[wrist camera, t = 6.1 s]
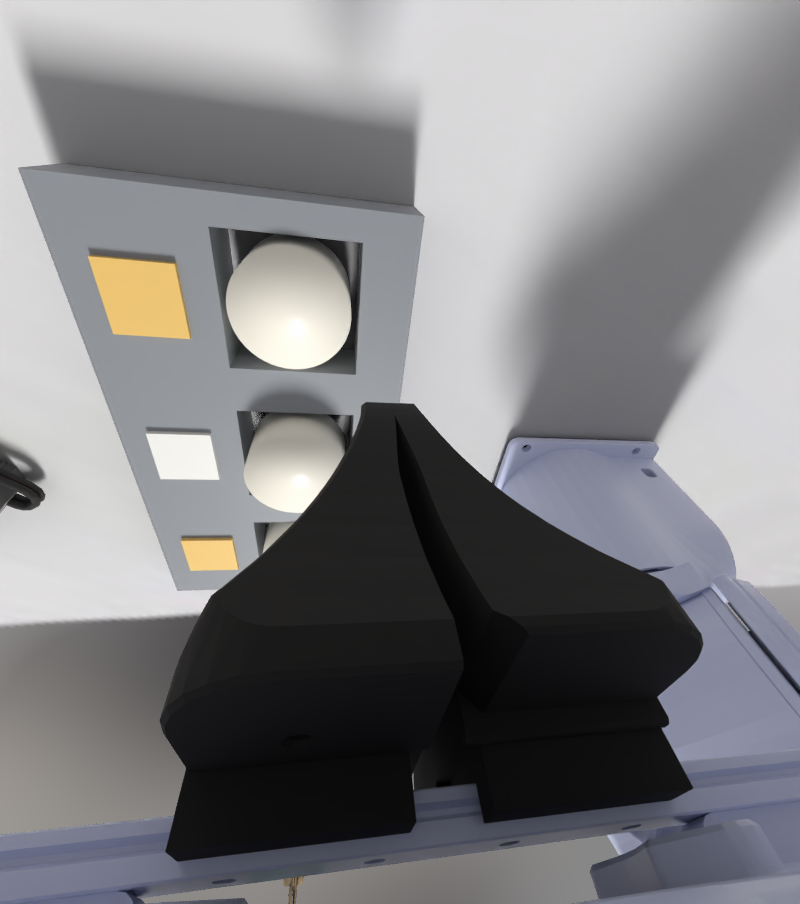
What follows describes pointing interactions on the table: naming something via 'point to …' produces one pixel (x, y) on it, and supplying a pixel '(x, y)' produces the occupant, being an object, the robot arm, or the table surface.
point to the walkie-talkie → (18, 489)
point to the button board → (211, 337)
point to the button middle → (292, 459)
